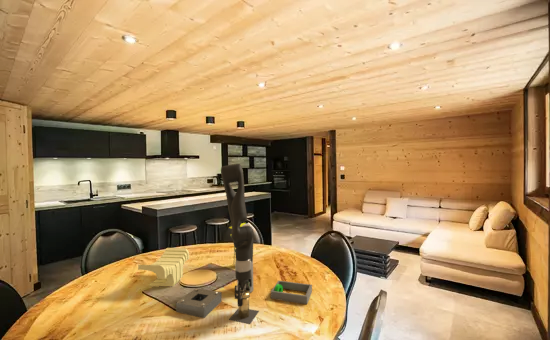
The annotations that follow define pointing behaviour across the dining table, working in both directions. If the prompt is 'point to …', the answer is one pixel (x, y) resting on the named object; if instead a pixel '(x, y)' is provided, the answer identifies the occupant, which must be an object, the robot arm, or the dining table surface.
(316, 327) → the dining table surface
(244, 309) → the brass capped cylinder
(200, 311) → the housing
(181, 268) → the slatted curved stool
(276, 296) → the parts tray
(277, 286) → the mechanical part
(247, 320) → the mat
